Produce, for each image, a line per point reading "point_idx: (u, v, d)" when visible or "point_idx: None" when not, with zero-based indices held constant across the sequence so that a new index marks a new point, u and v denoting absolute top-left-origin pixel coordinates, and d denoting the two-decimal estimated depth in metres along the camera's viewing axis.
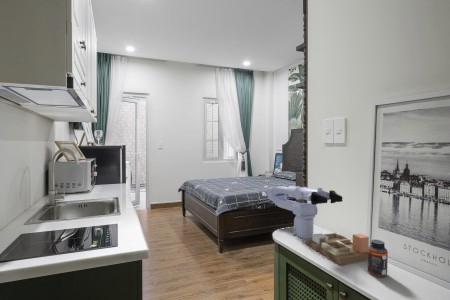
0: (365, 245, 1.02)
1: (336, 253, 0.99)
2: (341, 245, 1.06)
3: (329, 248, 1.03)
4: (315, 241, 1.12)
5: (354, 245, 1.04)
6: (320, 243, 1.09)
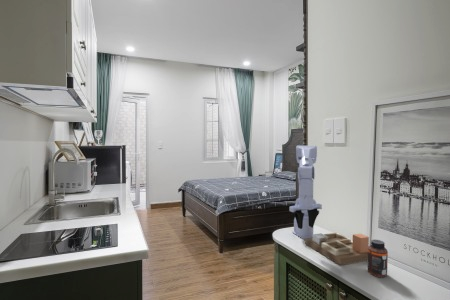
0: (365, 245, 1.02)
1: (336, 253, 0.99)
2: (341, 245, 1.06)
3: (329, 248, 1.03)
4: (315, 241, 1.12)
5: (354, 245, 1.04)
6: (320, 243, 1.09)
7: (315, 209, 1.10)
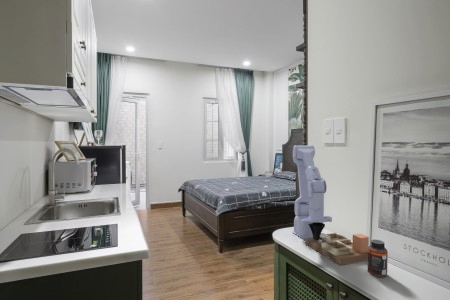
0: (365, 245, 1.02)
1: (336, 253, 0.99)
2: (341, 245, 1.06)
3: (329, 248, 1.03)
4: (317, 241, 1.12)
5: (354, 245, 1.04)
6: None
7: None
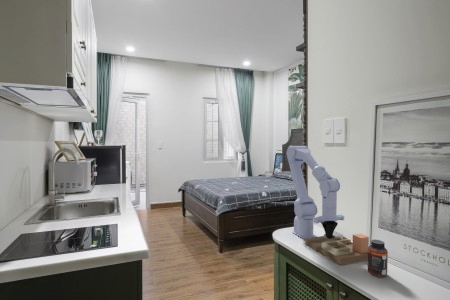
0: (365, 245, 1.02)
1: (336, 253, 0.99)
2: (341, 245, 1.06)
3: (329, 248, 1.03)
4: (330, 239, 1.14)
5: (354, 245, 1.04)
6: None
7: None
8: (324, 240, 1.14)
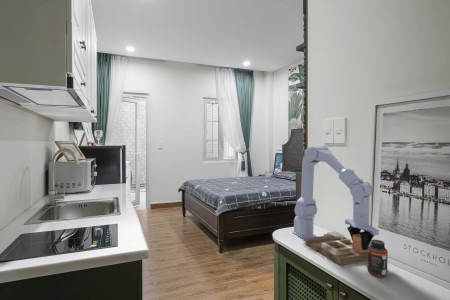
0: None
1: (336, 253, 0.99)
2: (341, 245, 1.06)
3: (329, 248, 1.03)
4: (330, 239, 1.14)
5: (354, 245, 1.04)
6: None
7: (367, 232, 0.99)
8: (324, 240, 1.14)
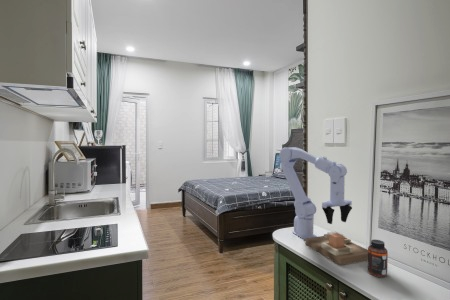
0: None
1: (336, 253, 0.99)
2: None
3: (329, 248, 1.03)
4: None
5: (337, 247, 1.02)
6: None
7: (346, 205, 1.16)
8: (324, 240, 1.14)
